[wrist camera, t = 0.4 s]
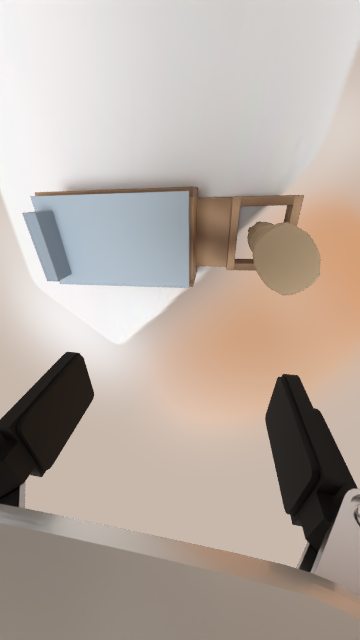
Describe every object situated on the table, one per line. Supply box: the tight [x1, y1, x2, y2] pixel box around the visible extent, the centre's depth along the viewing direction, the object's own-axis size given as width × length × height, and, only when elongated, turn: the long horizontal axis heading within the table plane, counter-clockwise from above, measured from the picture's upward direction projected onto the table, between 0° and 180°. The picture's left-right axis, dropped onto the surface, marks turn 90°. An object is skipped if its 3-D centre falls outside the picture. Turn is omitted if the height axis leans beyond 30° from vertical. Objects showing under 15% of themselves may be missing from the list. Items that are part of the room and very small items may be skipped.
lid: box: [22, 191, 190, 288], centre depth 26 cm, size 11×19×4 cm, turn 93°
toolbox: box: [35, 187, 304, 287], centre depth 30 cm, size 12×33×6 cm, turn 93°
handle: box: [248, 222, 320, 295], centre depth 25 cm, size 5×6×15 cm
